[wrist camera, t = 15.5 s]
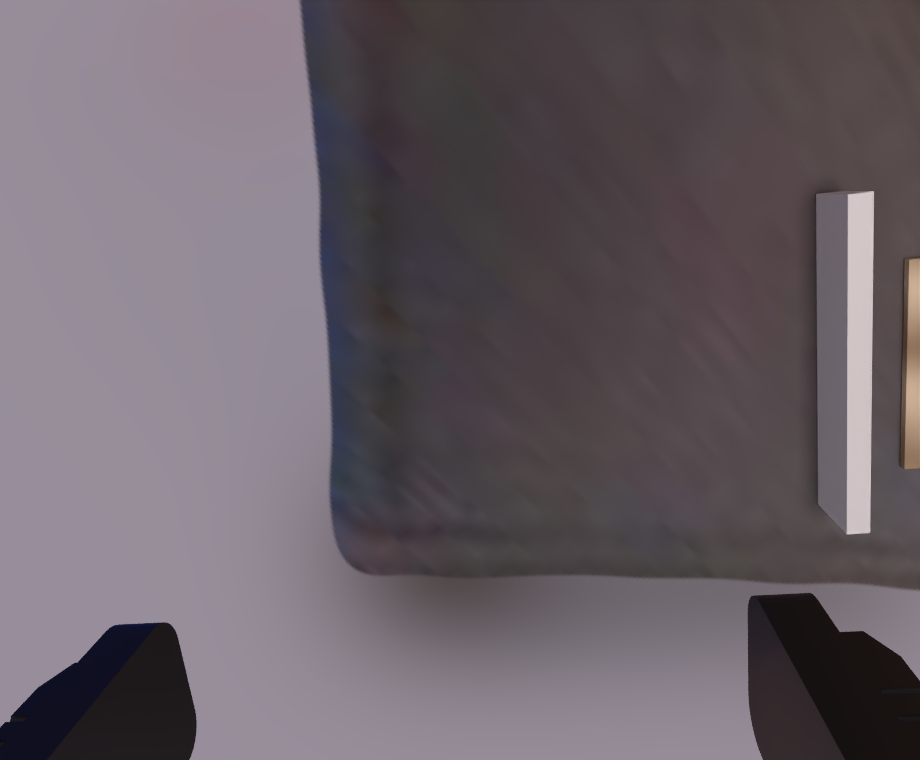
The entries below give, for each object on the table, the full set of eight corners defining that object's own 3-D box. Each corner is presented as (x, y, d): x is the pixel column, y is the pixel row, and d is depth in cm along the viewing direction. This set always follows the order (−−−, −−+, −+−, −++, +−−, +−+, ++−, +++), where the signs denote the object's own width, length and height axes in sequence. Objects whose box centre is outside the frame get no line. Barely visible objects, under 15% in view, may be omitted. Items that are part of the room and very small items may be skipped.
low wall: (816, 193, 40) (847, 194, 36) (839, 191, 40) (873, 191, 36) (817, 504, 44) (846, 534, 40) (839, 502, 44) (869, 532, 40)
